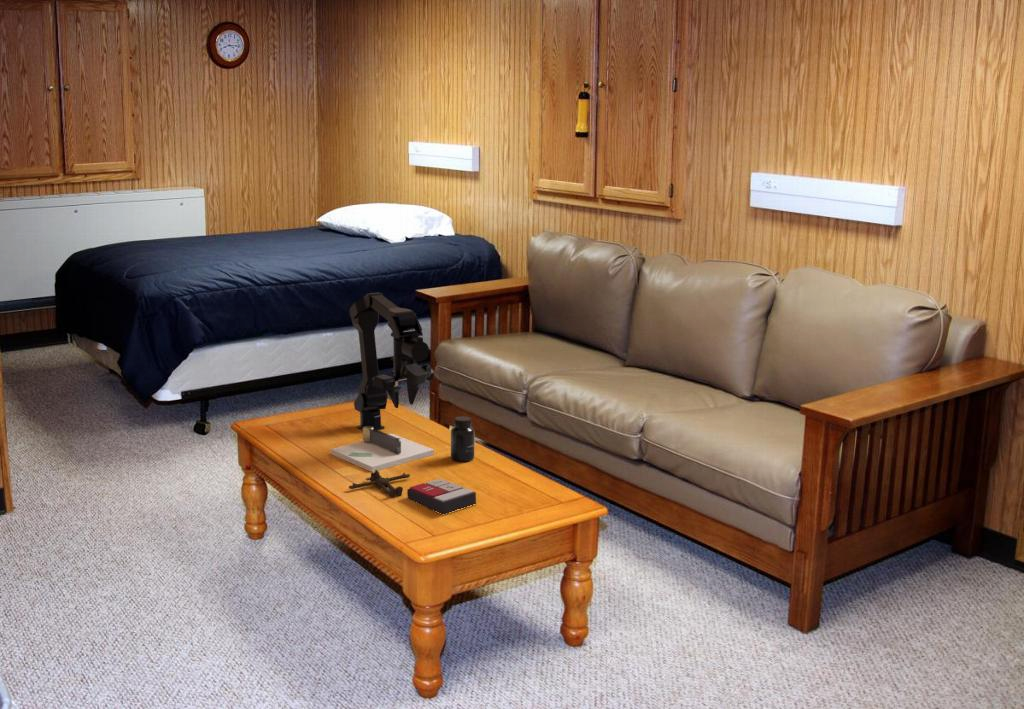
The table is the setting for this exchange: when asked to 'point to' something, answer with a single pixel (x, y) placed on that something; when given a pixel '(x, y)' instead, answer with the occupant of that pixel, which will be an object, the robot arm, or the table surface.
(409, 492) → the red grey black box
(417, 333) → the robot arm
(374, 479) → the black cross stand base
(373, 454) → the dial board
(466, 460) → the supplement bottle
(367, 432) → the pointer
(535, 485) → the table surface
